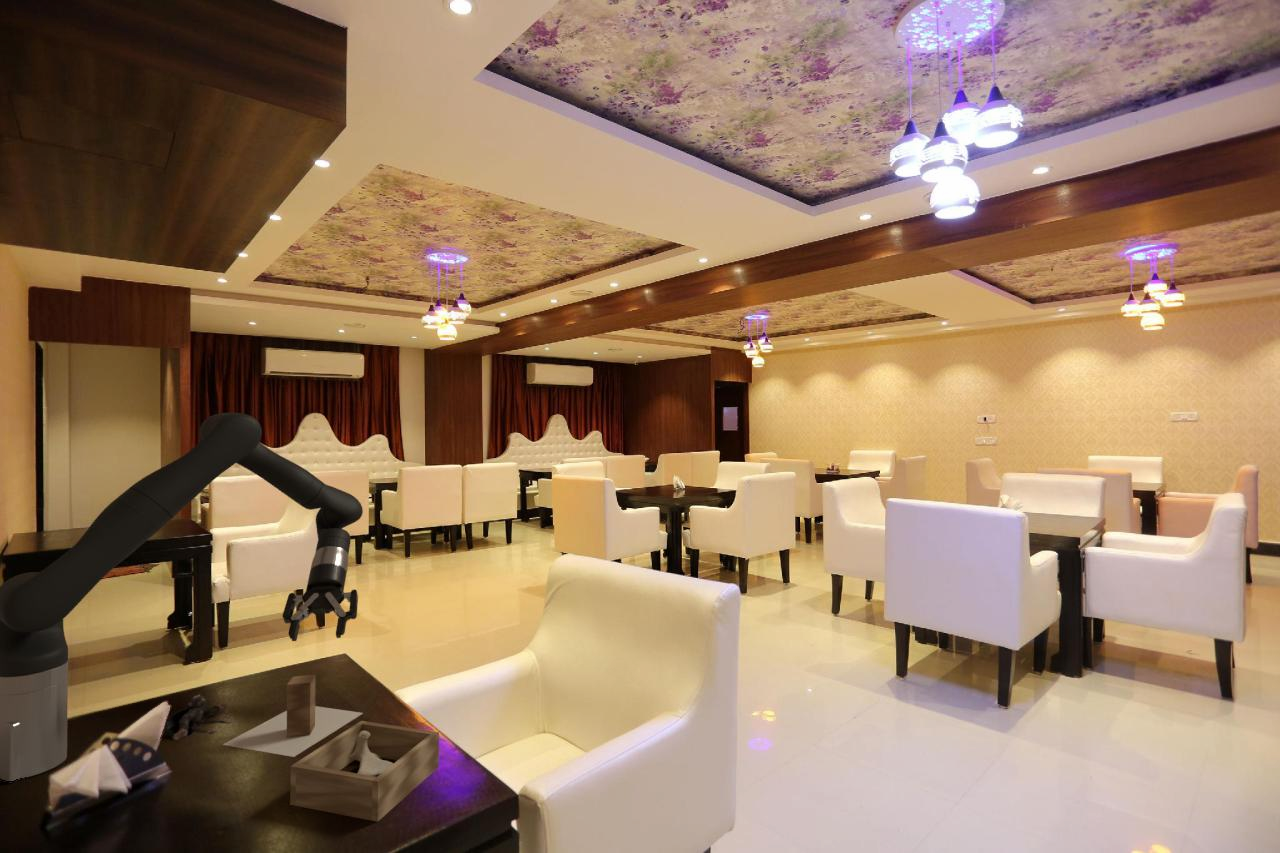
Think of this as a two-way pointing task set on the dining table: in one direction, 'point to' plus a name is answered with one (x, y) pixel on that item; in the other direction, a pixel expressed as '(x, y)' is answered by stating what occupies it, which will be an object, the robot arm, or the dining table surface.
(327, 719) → the mat
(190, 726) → the dark grey knobby piece
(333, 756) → the bone crate
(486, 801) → the dining table surface
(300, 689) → the walnut block
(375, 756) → the bone
